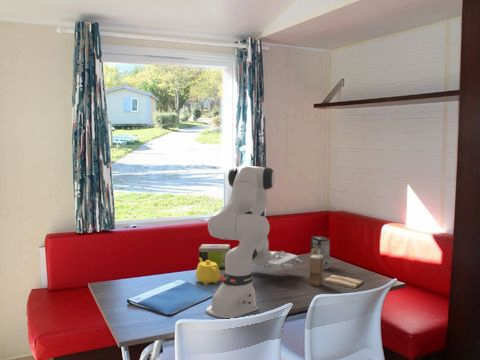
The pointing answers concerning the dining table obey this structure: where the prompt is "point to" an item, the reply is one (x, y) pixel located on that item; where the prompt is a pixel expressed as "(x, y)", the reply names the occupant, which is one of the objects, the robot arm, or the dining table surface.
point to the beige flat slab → (343, 281)
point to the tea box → (215, 254)
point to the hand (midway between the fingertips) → (297, 264)
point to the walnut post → (316, 270)
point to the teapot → (207, 272)
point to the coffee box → (321, 249)
